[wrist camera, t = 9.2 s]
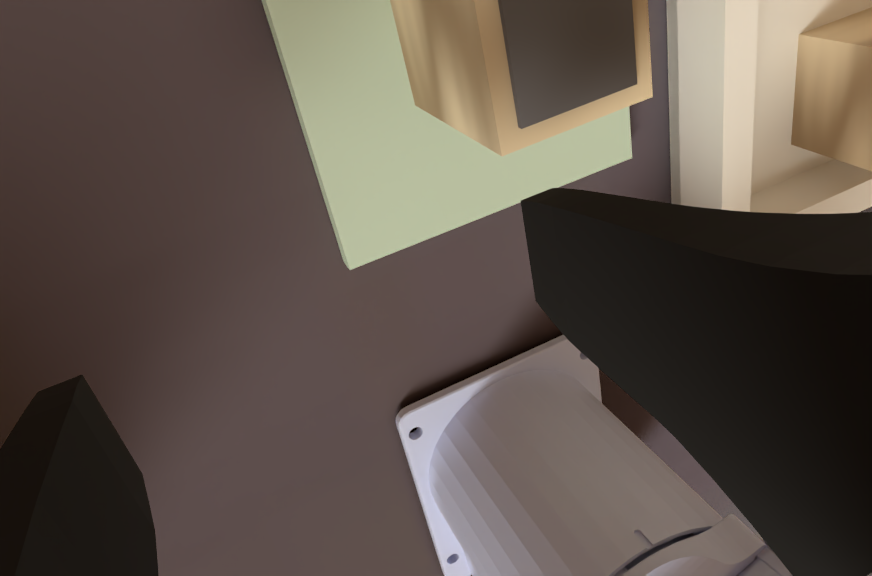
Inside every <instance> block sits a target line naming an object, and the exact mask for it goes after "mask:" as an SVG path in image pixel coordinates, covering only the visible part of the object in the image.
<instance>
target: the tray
mask: <svg viewBox="0 0 872 576" xmlns="http://www.w3.org/2000/svg"><path fill="white" fill-rule="evenodd" d="M666 7H667V47H668V87H669V126H670V166H671V204H678V205H685V206H693V207H702V208H712V209H721V210H731V211H745V212H763V213H791V214H837V213H858V212H860V211H863V210H865V209H867V208H869V207H871V206H872V171H869V170H866V169H863V168H860V167H857V166H854V165H851V164H848V163H845V162H842V161H839V160H836V159H833V158H830V157H827V156H824V155H821V154H818V153H815V152H812V151H809V150H806V149H803V148H800V147H797V146H794V145H791V136H792V122H793V108H794V94H795V80H796V66H797V52H798V38H799V34H801V33H804V32H807V31H809V30H812V29H815V28H817V27H820V26H823V25H826V24H828V23H831V22H834V21H836V20H839V19H842V18H844V17H847V16H850V15H852V14H855V13H858V12H860V11H863V10H866V9H869V8H871V7H872V0H666Z"/></svg>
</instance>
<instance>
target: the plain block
mask: <svg viewBox="0 0 872 576" xmlns="http://www.w3.org/2000/svg"><path fill="white" fill-rule="evenodd" d="M791 145H794V146H797V147H800V148H803V149H806V150H809V151H812V152H815V153H818V154H821V155H824V156H827V157H830V158H833V159H836V160H839V161H842V162H845V163H848V164H851V165H854V166H857V167H860V168H863V169H866V170H869V171H872V7H871V8H869V9H866V10H863V11H860V12H858V13H855V14H852V15H850V16H847V17H844V18H842V19H839V20H836V21H834V22H831V23H828V24H826V25H823V26H820V27H817V28H815V29H812V30H809V31H807V32H804V33H801V34H799V38H798V52H797V66H796V80H795V94H794V108H793V122H792V136H791Z"/></svg>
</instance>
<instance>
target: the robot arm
mask: <svg viewBox="0 0 872 576" xmlns="http://www.w3.org/2000/svg"><path fill="white" fill-rule="evenodd" d="M521 206H522V212H523V219H524V226H525V232H526V239H527V245H528V252H529V259H530V265H531V272H532V279H533V285H534V292H535V298H536V302H537V303H538V304H539V305H540V307H541V308H542V309H543V310H544V312H545V313H546V314H547V315H548V317H549V318H550V319H551V320H552V322H553V323H554V324H555V325H556V326H557V328H558V329H559V330H560V331H561V332H562V333H563V335H561V336H559V337H557V338H555V339H553V340H550V341H548V342H546V343H544V344H542V345H539V346H537V347H535V348H533V349H531V350H528V351H526V352H524V353H522V354H520V355H518V356H515V357H513V358H511V359H509V360H507V361H504V362H502V363H500V364H498V365H496V366H493V367H491V368H489V369H487V370H485V371H483V372H480V373H478V374H476V375H474V376H472V377H469V378H467V379H465V380H463V381H461V382H458V383H456V384H454V385H452V386H450V387H448V388H445V389H443V390H441V391H439V392H437V393H434V394H432V395H430V396H428V397H426V398H423V399H421V400H419V401H417V402H415V403H413V404H410V405H408V406H406V407H404V408H403V409H401V410H400V412H399V413H398V414H397V416H396V425H397V428H398V431H399V435H400V438H401V441H402V444H403V447H404V451H405V454H406V457H407V460H408V463H409V467H410V470H411V473H412V476H413V479H414V482H415V486H416V489H417V492H418V495H419V498H420V502H421V505H422V508H423V511H424V514H425V518H426V521H427V524H428V527H429V530H430V533H431V537H432V540H433V543H434V546H435V549H436V553H437V556H438V559H439V562H440V565H441V569H442V572H443V574H444V576H470V575H471V574H472V576H872V212H865V213H837V214H791V213H763V212H745V211H731V210H721V209H712V208H702V207H693V206H685V205H678V204H670V203H663V202H656V201H650V200H643V199H637V198H630V197H624V196H618V195H611V194H605V193H598V192H591V191H584V190H576V189H565V188H551V189H548V190H546V191H543V192H541V193H538V194H536V195H533V196H531V197H528V198H526V199H523V200H521ZM581 352H582V353H581ZM580 353H581V354H580ZM599 369H600V370H601V371H603V372H604V373H605V374H606V375H607V376H608V377H609V378H611V379H612V380H613V381H614V382H615V383H616V384H617V385H618V386H620V387H621V388H622V389H623V390H624V391H625V392H626V393H628V394H629V395H630V396H631V397H632V398H633V399H634V400H635V401H637V402H638V403H639V404H640V405H641V406H642V407H643V408H644V409H646V410H647V411H648V412H649V413H650V414H651V415H652V416H654V417H655V418H656V419H657V420H658V421H659V422H660V423H661V424H662V425H663V426H664V427H665V428H666V429H667V430H668V431H669V432H670V433H671V434H672V435H673V436H674V437H675V438H676V439H677V440H678V441H679V442H680V443H681V444H682V445H683V446H684V447H685V449H686V450H687V451H688V452H689V453H690V454H691V455H692V456H693V457H694V459H695V460H696V461H697V462H698V463H699V464H700V465H701V466H702V467H703V468H704V470H705V471H706V472H707V473H708V474H709V475H710V476H711V477H712V478H713V480H714V481H715V482H716V483H717V484H718V485H719V487H720V488H721V489H722V490H723V491H724V493H725V494H726V495H727V496H728V497H729V498H730V500H731V501H732V502H733V503H734V504H735V505H736V507H737V508H738V509H739V510H740V511H741V513H742V514H743V515H744V516H745V517H746V518H747V520H748V521H749V522H750V523H751V524H752V525H753V527H754V528H755V529H756V530H757V532H758V533H759V534H760V535H761V537H762V538H763V540H764V542H765V543H764V542H763V541H762V540H761V539H760V538H759V537H758V536H757V535H755V534H754V533H753V532H752V531H751V530H750V529H749V528H748V527H747V526H746V525H745V524H744V523H743V522H741V521H740V520H739V519H738V518H737V517H736V516H735V515H734V514H729V515H727V516H726V517H725V518H724V519H723V518H722V517H721V516H720V515H719V514H718V513H717V512H716V511H715V510H714V509H713V508H712V507H711V506H709V505H708V504H707V503H706V502H705V501H704V500H703V499H702V498H701V497H700V496H699V495H698V494H697V493H696V492H695V491H694V490H693V489H692V488H691V487H689V486H688V485H687V484H686V483H685V482H684V481H683V480H682V479H681V478H680V477H679V476H678V475H677V474H676V473H675V472H674V471H673V470H672V469H671V468H669V467H668V466H667V465H666V464H665V463H664V462H663V461H662V460H661V459H660V458H659V457H658V456H657V455H656V454H655V453H654V452H653V451H652V450H651V449H649V448H648V447H647V446H646V445H645V444H644V443H643V442H642V441H641V440H640V439H639V438H638V437H637V436H636V435H635V434H634V433H633V432H632V431H631V430H629V429H628V428H627V427H626V426H625V425H624V424H623V423H622V422H621V421H620V420H619V419H618V418H617V417H616V416H615V415H614V414H613V413H612V412H611V411H609V410H608V409H607V408H606V407H605V406H604V405H603V404H602V397H601V387H600V377H599ZM416 427H418V428H417V430H416V431H414V432H412V433H410V431H411V430H412V429H413V428H416ZM0 576H158V564H157V550H156V538H155V529H154V524H153V519H152V515H151V510H150V505H149V501H148V497H147V492H146V488H145V484H144V479H143V475H142V473H141V471H140V469H139V468H138V466H137V464H136V463H135V461H134V459H133V458H132V456H131V454H130V453H129V451H128V449H127V448H126V446H125V444H124V443H123V441H122V440H121V438H120V436H119V435H118V433H117V431H116V430H115V428H114V426H113V425H112V423H111V421H110V420H109V418H108V416H107V415H106V413H105V411H104V410H103V408H102V407H101V405H100V403H99V402H98V400H97V398H96V397H95V395H94V393H93V392H92V390H91V388H90V387H89V385H88V383H87V382H86V380H85V378H84V377H83V375H80V376H77V377H75V378H72V379H70V380H67V381H65V382H62V383H60V384H57V385H54V386H52V387H49V388H47V389H44V390H42V391H39V392H38V393H37V394H36V396H35V397H34V398H33V399H32V401H31V402H30V404H29V405H28V407H27V408H26V410H25V411H24V413H23V414H22V416H21V417H20V419H19V421H18V422H17V424H16V425H15V427H14V428H13V430H12V432H11V433H10V435H9V436H8V438H7V439H6V441H5V443H4V444H3V446H2V447H1V449H0Z"/></svg>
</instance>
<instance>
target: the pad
mask: <svg viewBox="0 0 872 576" xmlns="http://www.w3.org/2000/svg"><path fill="white" fill-rule="evenodd" d="M262 4H263V7H264V10H265V13H266V16H267V20H268V23H269V26H270V29H271V32H272V35H273V39H274V42H275V45H276V48H277V51H278V54H279V58H280V61H281V64H282V67H283V70H284V74H285V77H286V80H287V83H288V86H289V89H290V93H291V96H292V99H293V102H294V105H295V108H296V112H297V115H298V118H299V121H300V124H301V127H302V131H303V134H304V137H305V140H306V143H307V147H308V150H309V153H310V156H311V159H312V162H313V166H314V169H315V172H316V175H317V178H318V181H319V185H320V188H321V191H322V194H323V197H324V200H325V204H326V207H327V210H328V213H329V216H330V220H331V223H332V226H333V229H334V232H335V235H336V239H337V242H338V245H339V248H340V251H341V254H342V258H343V261H344V263H345V264H346V265H347V267H348V268H349V269H350V270H351V269H354V268H356V267H359V266H361V265H364V264H366V263H369V262H371V261H374V260H377V259H379V258H382V257H384V256H387V255H389V254H392V253H394V252H397V251H399V250H402V249H404V248H407V247H409V246H412V245H414V244H417V243H419V242H422V241H424V240H427V239H429V238H432V237H434V236H437V235H439V234H442V233H444V232H447V231H449V230H452V229H455V228H457V227H460V226H462V225H465V224H467V223H470V222H472V221H475V220H477V219H480V218H482V217H485V216H487V215H490V214H492V213H495V212H497V211H500V210H502V209H505V208H507V207H510V206H512V205H515V204H517V203H520V202H521V200H523V199H526V198H528V197H531V196H533V195H536V194H538V193H541V192H543V191H546V190H548V189H551V188H558V187H560V186H563V185H565V184H568V183H570V182H573V181H575V180H578V179H580V178H583V177H585V176H588V175H590V174H593V173H595V172H598V171H600V170H603V169H605V168H608V167H611V166H613V165H616V164H618V163H621V162H623V161H626V160H628V159H631V158H632V147H631V130H630V112H629V106H628V107H626V108H623V109H621V110H618V111H616V112H613V113H611V114H608V115H606V116H603V117H601V118H598V119H595V120H593V121H590V122H588V123H585V124H583V125H580V126H578V127H575V128H573V129H570V130H568V131H565V132H563V133H560V134H558V135H555V136H553V137H550V138H548V139H545V140H542V141H540V142H537V143H535V144H532V145H530V146H527V147H525V148H522V149H520V150H517V151H515V152H512V153H510V154H507V155H505V156H500V155H498V154H497V153H495V152H493V151H492V150H490V149H488V148H487V147H485V146H483V145H481V144H480V143H478V142H476V141H475V140H473V139H471V138H470V137H468V136H466V135H465V134H463V133H461V132H459V131H458V130H456V129H454V128H453V127H451V126H449V125H448V124H446V123H444V122H443V121H441V120H439V119H437V118H436V117H434V116H432V115H431V114H429V113H427V112H426V111H424V110H422V109H421V108H419V107H417V106H415V103H414V99H413V95H412V90H411V86H410V82H409V78H408V74H407V69H406V65H405V61H404V57H403V53H402V49H401V44H400V40H399V36H398V32H397V28H396V23H395V19H394V15H393V11H392V7H391V3H390V0H262Z"/></svg>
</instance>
